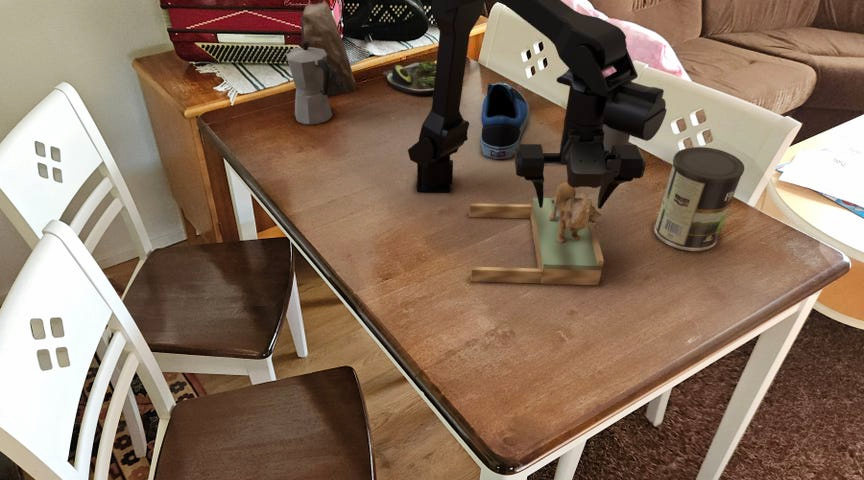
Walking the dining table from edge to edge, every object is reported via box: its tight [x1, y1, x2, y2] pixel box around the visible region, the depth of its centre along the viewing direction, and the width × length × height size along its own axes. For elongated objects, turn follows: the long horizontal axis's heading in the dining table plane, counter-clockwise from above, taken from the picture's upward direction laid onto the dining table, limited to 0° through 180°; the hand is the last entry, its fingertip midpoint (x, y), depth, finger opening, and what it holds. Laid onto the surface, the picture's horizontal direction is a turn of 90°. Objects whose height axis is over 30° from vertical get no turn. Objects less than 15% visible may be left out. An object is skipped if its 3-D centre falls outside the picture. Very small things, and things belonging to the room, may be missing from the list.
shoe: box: [480, 81, 530, 160], centre depth 136 cm, size 11×30×12 cm, turn 169°
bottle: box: [603, 125, 631, 153], centre depth 121 cm, size 6×6×15 cm
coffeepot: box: [285, 40, 333, 126], centre depth 142 cm, size 15×9×18 cm, turn 37°
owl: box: [299, 0, 357, 97], centre depth 156 cm, size 13×13×20 cm
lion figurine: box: [549, 181, 602, 243], centre depth 100 cm, size 15×5×9 cm, turn 6°
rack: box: [469, 193, 605, 286], centre depth 104 cm, size 20×19×5 cm
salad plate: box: [382, 60, 437, 97], centre depth 161 cm, size 19×18×5 cm
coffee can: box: [653, 146, 745, 252], centre depth 103 cm, size 10×10×14 cm
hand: (569, 206), depth 100 cm, fingers open, 9 cm apart
